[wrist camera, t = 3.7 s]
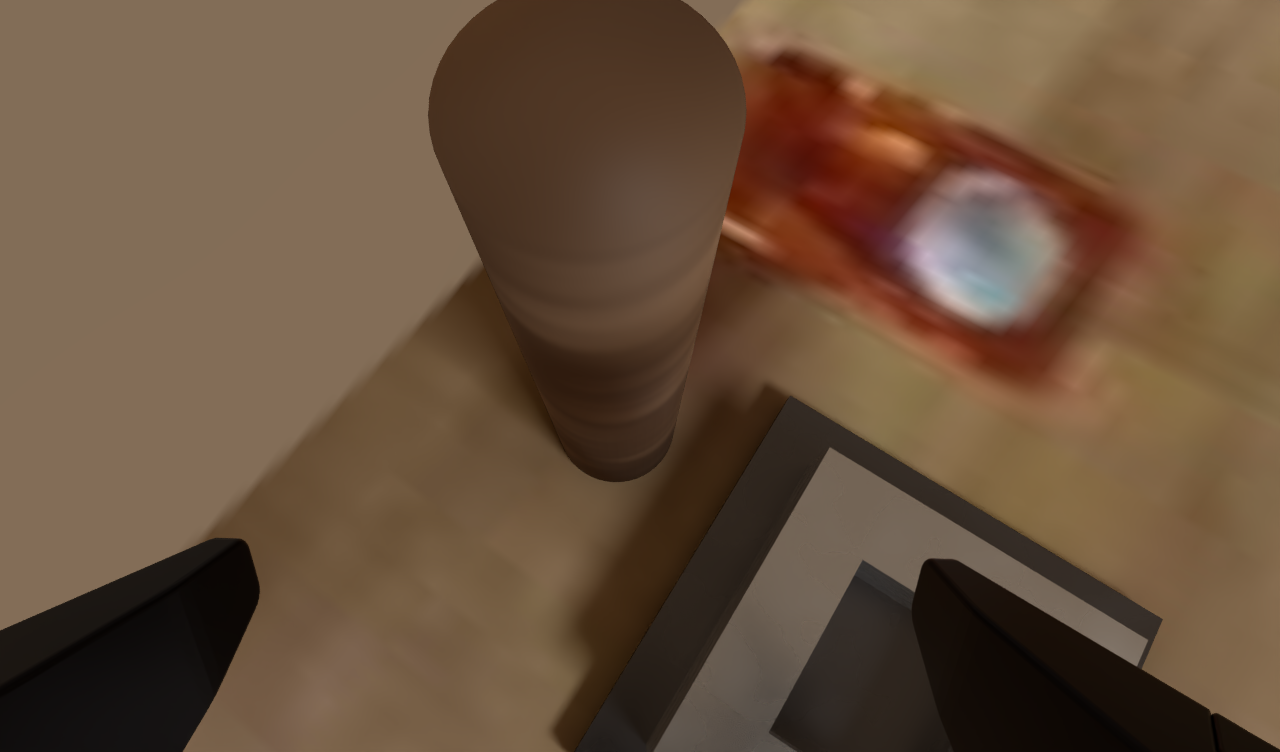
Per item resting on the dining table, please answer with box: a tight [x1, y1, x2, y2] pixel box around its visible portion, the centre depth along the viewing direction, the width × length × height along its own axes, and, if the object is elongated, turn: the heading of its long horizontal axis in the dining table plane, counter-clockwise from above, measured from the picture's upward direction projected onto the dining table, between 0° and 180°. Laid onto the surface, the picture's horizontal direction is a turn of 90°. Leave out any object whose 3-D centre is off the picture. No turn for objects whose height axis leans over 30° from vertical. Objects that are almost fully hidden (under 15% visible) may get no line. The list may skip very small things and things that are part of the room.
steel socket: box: [574, 396, 1163, 752], centre depth 21 cm, size 12×12×3 cm
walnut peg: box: [428, 0, 746, 482], centre depth 16 cm, size 4×4×16 cm
